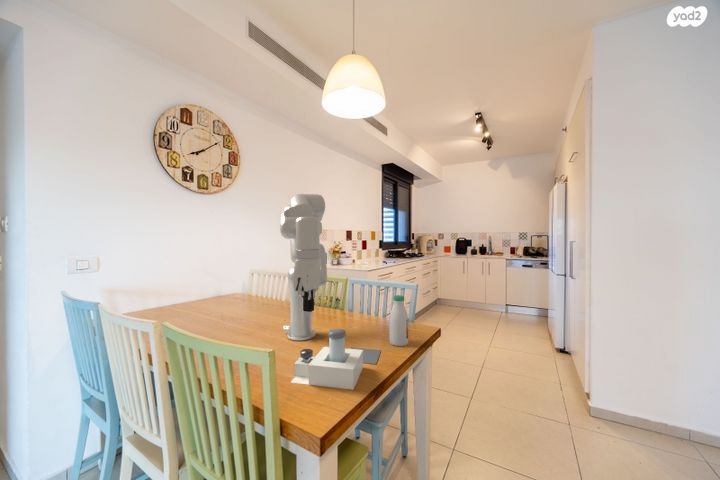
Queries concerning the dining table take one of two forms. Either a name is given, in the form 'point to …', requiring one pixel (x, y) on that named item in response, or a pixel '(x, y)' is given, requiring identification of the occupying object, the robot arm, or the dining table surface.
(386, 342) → the dining table surface
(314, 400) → the dining table surface
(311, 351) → the plunger
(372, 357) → the mat
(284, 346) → the dining table surface
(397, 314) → the milk bottle
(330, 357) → the cartridge
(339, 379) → the housing
